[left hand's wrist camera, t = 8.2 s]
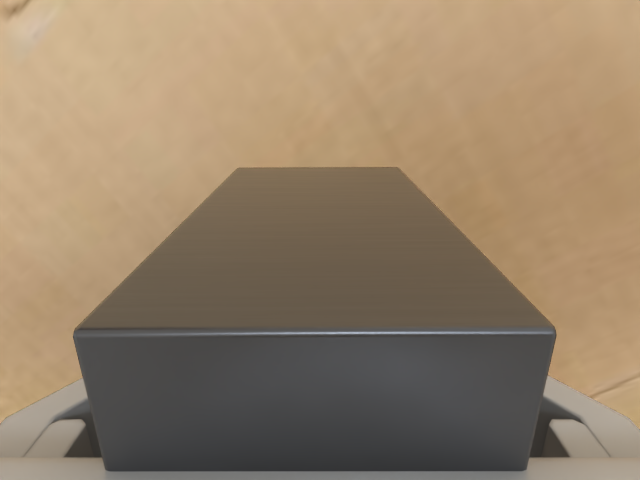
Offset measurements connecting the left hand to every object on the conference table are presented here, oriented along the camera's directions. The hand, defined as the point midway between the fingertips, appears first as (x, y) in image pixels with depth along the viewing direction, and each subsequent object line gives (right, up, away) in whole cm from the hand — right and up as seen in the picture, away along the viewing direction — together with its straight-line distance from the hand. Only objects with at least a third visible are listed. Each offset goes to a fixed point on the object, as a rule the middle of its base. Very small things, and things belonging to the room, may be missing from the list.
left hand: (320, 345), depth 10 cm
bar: (0, -8, +8) cm, 11 cm away
